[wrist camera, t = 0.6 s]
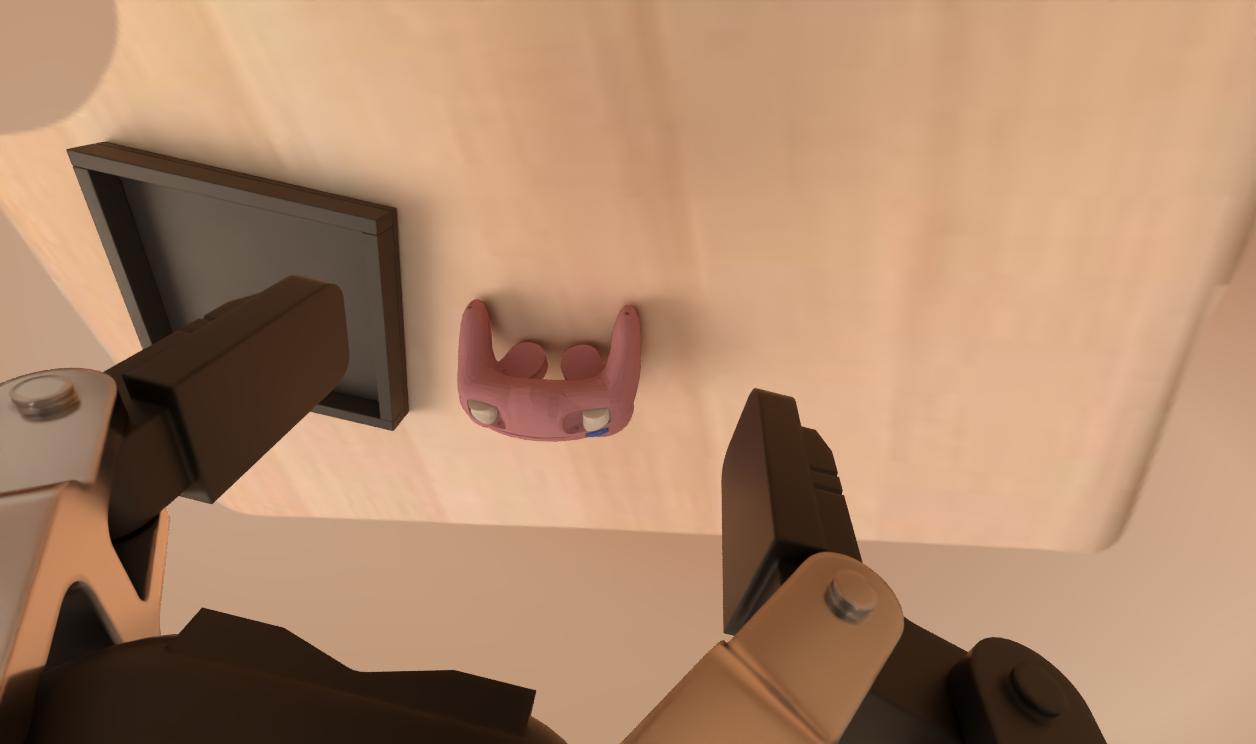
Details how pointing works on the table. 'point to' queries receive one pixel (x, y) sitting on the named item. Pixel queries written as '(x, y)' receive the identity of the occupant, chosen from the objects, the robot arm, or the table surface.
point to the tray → (250, 258)
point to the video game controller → (548, 383)
